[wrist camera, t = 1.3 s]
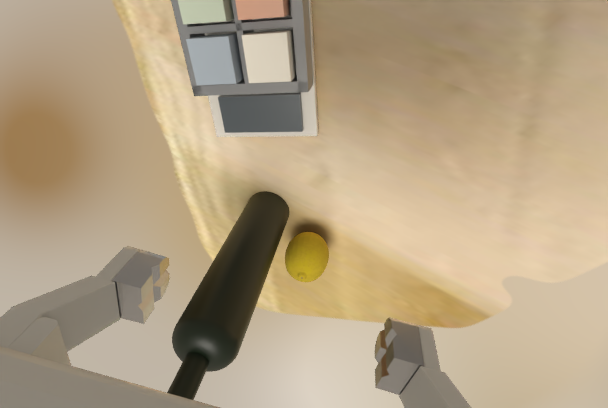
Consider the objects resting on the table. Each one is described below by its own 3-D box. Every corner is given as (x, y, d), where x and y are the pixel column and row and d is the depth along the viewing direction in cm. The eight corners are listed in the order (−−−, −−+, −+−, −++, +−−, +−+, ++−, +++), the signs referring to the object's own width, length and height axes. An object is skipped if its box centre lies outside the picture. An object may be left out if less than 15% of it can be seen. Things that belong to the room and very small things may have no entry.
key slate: (196, 36, 32) (185, 39, 30) (236, 33, 31) (228, 36, 30) (206, 80, 34) (196, 85, 32) (243, 78, 33) (236, 83, 32)
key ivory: (249, 32, 31) (241, 35, 29) (291, 29, 30) (286, 32, 29) (255, 78, 33) (248, 83, 31) (295, 76, 32) (291, 81, 31)
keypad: (180, -52, 31) (156, -57, 28) (307, -67, 29) (298, -75, 26) (220, 133, 41) (205, 147, 37) (318, 132, 39) (313, 147, 35)
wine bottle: (280, 233, 48) (177, 503, 23) (242, 216, 47) (94, 473, 22) (295, 203, 44) (196, 478, 20) (255, 184, 44) (101, 442, 19)
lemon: (302, 256, 49) (291, 298, 42) (285, 226, 47) (270, 266, 40) (337, 246, 47) (332, 289, 40) (321, 215, 45) (312, 255, 38)
